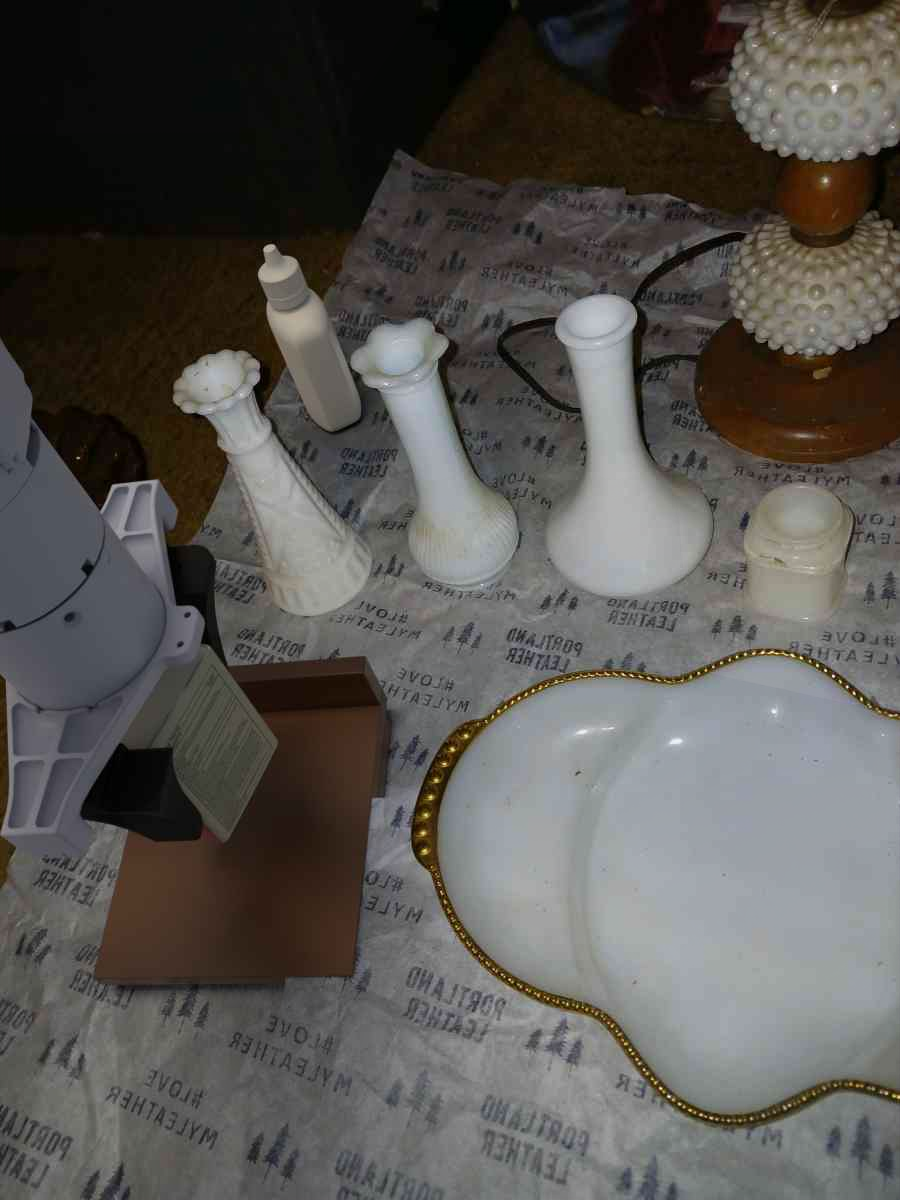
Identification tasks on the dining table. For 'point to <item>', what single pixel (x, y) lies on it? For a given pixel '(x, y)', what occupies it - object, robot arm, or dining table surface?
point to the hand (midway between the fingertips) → (194, 760)
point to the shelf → (265, 848)
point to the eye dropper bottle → (308, 343)
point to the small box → (206, 738)
